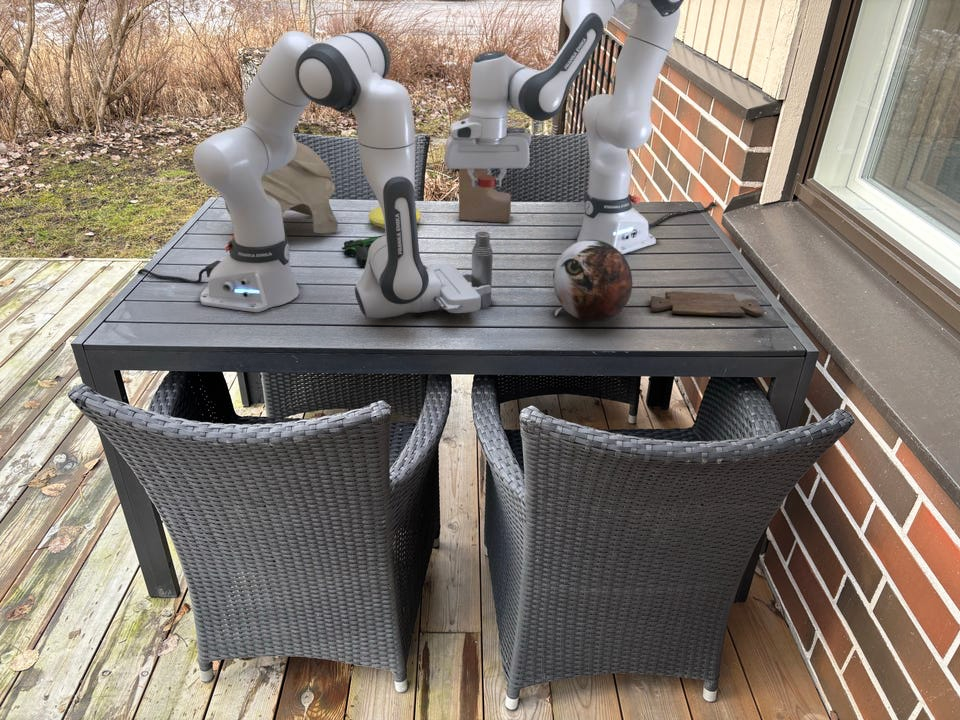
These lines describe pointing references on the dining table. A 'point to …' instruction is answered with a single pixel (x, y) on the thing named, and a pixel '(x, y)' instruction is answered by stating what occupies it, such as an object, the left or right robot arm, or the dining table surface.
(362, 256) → the handgun
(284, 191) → the helmet
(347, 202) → the dining table surface
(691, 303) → the wooden paddle board
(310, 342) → the dining table surface
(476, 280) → the bottle
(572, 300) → the plush toy
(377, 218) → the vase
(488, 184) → the cap
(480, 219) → the decorative block
